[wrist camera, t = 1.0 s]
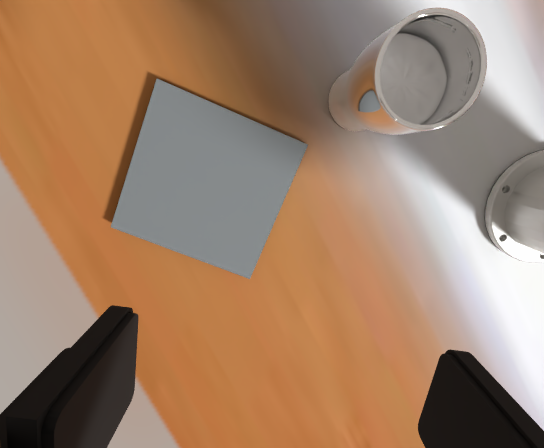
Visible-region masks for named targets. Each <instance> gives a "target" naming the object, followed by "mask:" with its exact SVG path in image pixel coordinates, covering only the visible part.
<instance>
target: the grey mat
mask: <svg viewBox="0 0 544 448" xmlns="http://www.w3.org/2000/svg"><path fill="white" fill-rule="evenodd" d="M307 146H308V145H307V144H305V143H303V142H301V141H298V140H296V139H294V138H291V137H289V136H287V135H285V134H282V133H280V132H278V131H276V130H273V129H271V128H269V127H266V126H264V125H262V124H260V123H257V122H255V121H253V120H250V119H248V118H246V117H244V116H241V115H239V114H237V113H234V112H232V111H230V110H228V109H225V108H223V107H221V106H219V105H216V104H214V103H212V102H209V101H207V100H205V99H203V98H200V97H198V96H196V95H193V94H191V93H189V92H187V91H184V90H182V89H180V88H177V87H175V86H173V85H171V84H168V83H166V82H164V81H162V80H159V79H156V83H155V86H154V89H153V92H152V96H151V99H150V102H149V105H148V108H147V112H146V115H145V118H144V121H143V125H142V128H141V131H140V134H139V137H138V141H137V144H136V147H135V150H134V154H133V157H132V160H131V163H130V166H129V170H128V173H127V176H126V179H125V183H124V186H123V189H122V192H121V195H120V199H119V202H118V205H117V208H116V212H115V215H114V218H113V221H112V224H111V227H112V228H114V229H117V230H120V231H122V232H125V233H128V234H130V235H133V236H136V237H139V238H141V239H144V240H147V241H149V242H152V243H155V244H157V245H160V246H163V247H165V248H168V249H171V250H173V251H176V252H179V253H181V254H184V255H187V256H189V257H192V258H195V259H198V260H200V261H203V262H206V263H208V264H211V265H214V266H216V267H219V268H222V269H224V270H227V271H230V272H232V273H235V274H238V275H240V276H243V277H246V278H248V279H250V277H251V275H252V273H253V270H254V268H255V266H256V263H257V261H258V259H259V257H260V254H261V252H262V250H263V247H264V245H265V243H266V240H267V238H268V236H269V234H270V231H271V229H272V227H273V224H274V222H275V220H276V217H277V215H278V213H279V211H280V208H281V206H282V204H283V201H284V199H285V197H286V194H287V192H288V190H289V187H290V185H291V183H292V181H293V178H294V176H295V174H296V171H297V169H298V167H299V164H300V162H301V160H302V158H303V155H304V153H305V151H306V148H307Z"/></svg>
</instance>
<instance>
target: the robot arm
mask: <svg viewBox="0 0 544 448" xmlns="http://www.w3.org/2000/svg"><path fill="white" fill-rule="evenodd" d="M485 222H486V228H487V231H488V234H489V236H490V238H491V240H492V241H493V243H494V244H495V246H497V247H498V248H499V249H500V250H501V251H502V252H504V253H506V254H507V255H509V256H511V257H514V258H516V259H518V260H522V261H527V262H543V261H544V150H542V151H537V152H534V153H532V154H529V155H526V156H525V157H523V158H521V159H520V160H518V161H516V162H515V163H514V164H512V165H511V166H510V167H509V168H508V169H506V171H505V172H504V173H503V174H502V175H501V176H500V177H499V179H498V180H497V182H496V183H495V185H494V186H493V188H492V190H491V193H490V195H489V197H488V201H487V205H486V210H485ZM137 333H138V314H136V313H133V310H132V308H129V307H121V306H110V307H109V308H108V309H107V310H106V311H105V312H104V313H103V314H102V315H101V316H100V317H99V319H98V320H97V321H96V322H95V323H94V324H93V325H92V326H91V327H90V328H89V329H88V330H87V331H86V332H85V333H84V334H83V335H82V336H81V338H80V339H79V340H78V341H77V342H76V343H75V344H74V345H73V346H72V347H71V348H66V349H64V350H63V351H62V352H61V353H60V354H59V355H58V356H57V357H56V358H55V359H54V360H53V361H52V362H51V363H50V364H49V365H48V366H47V367H46V368H45V369H44V370H43V371H42V372H41V373H40V374H39V375H38V376H37V377H36V378H35V379H34V380H33V381H32V382H31V383H30V384H29V385H28V387H27V388H26V389H25V390H24V391H23V392H22V393H21V394H20V395H19V396H18V397H17V398H16V399H15V400H14V401H13V402H12V403H11V404H10V405H9V406H8V407H7V408H6V409H5V410H4V411H3V412H2V413H1V414H0V448H107V446H108V444H109V442H110V440H111V439H112V437H113V435H114V433H115V431H116V429H117V427H118V425H119V423H120V422H121V419H122V418H123V415H124V414H125V412H126V410H127V408H128V406H129V404H130V402H131V400H132V397H133V394H134V387H135V370H136V352H137ZM418 432H419V435H420V438H421V440H422V442H423V444H424V446H425V448H544V431H543V430H542V429H541V428H540V427H539V425H538V424H537V423H536V422H535V421H534V420H533V419H532V418H531V417H530V416H529V415H528V414H527V413H526V412H525V411H524V410H523V408H522V407H521V406H520V405H519V404H518V403H517V402H516V401H515V400H514V399H513V398H512V397H511V396H510V395H509V394H508V392H507V391H506V390H505V389H504V388H503V387H502V386H501V385H500V384H499V383H498V382H497V381H496V380H495V379H494V378H493V376H492V375H491V374H490V373H489V372H488V371H487V370H486V369H485V368H484V367H483V366H482V365H481V364H480V363H479V362H478V361H477V359H476V358H475V357H474V356H473V355H472V354H470V353H469V352H464V351H456V350H448V351H446V353H445V354H442V355H441V356H440V358H439V361H438V364H437V367H436V370H435V373H434V376H433V380H432V383H431V386H430V389H429V392H428V395H427V398H426V401H425V404H424V407H423V410H422V413H421V416H420V419H419V423H418Z"/></svg>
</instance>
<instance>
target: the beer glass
mask: <svg viewBox="0 0 544 448" xmlns="http://www.w3.org/2000/svg"><path fill="white" fill-rule="evenodd" d="M486 68H487V55H486V49H485V45H484V42H483V39H482V37H481V35H480V33H479V31H478V29H477V28H476V27H475V25H474V24H473V23H472V22H471V21H470V20H469V19H468V18H466V17H465V16H464V15H462V14H460V13H458V12H456V11H454V10H450V9H446V8H429V9H424V10H421V11H418V12H415V13H413V14H411V15H409V16H408V17H406V18H405V19H403V20H402V21H401V22H399V23H398V24H396V25H394V26H393V27H391V28H389V29H388V30H386V31H385V32H383V33H382V34H381V35H379V36H378V37H377V38H376V39H374V40H373V41H372V42H371V43H370V44H369V45H368V46H367V47H366V48H365V49H364V50H363V51H362V52H361V53H360V55H359V56H358V57H357V59H356V61H355V62H354V64H353V66H352V67H351V69H350V70H348V71H346V72H344V73H343V74H341V75H340V76H339V77H338V78H337V79H336V80H335V82H334V83H333V85H332V87H331V90H330V93H329V98H328V105H329V110H330V113H331V116H332V117H333V119H334V120H335V122H336V123H337V124H338V125H339V126H341V127H342V128H344V129H346V130H349V131H364V130H367V129H369V130H371V131H374V132H377V133H381V134H389V135H403V134H412V133H417V132H422V131H427V130H434V129H438V128H442V127H444V126H447V125H449V124H451V123H452V122H454V121H455V120H457V119H458V118H460V117H461V116H462V115H463V114H464V113H465V112H466V111H467V110H468V109H469V108H470V107H471V106H472V104H473V103H474V101H475V100H476V98H477V97H478V95H479V93H480V91H481V88H482V86H483V83H484V79H485V75H486Z"/></svg>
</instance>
